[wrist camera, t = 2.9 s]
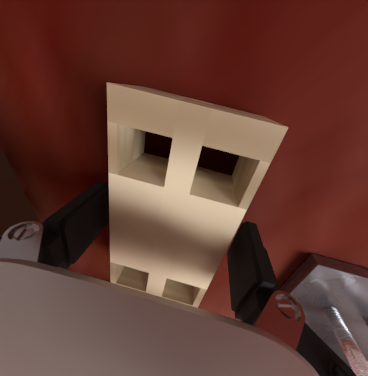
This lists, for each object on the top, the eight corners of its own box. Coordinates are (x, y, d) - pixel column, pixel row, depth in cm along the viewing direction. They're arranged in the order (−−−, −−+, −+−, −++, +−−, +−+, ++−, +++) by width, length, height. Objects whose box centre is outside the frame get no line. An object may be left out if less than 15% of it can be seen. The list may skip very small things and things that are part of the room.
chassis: (311, 253, 13) (369, 348, 8) (463, 294, 12) (622, 423, 7) (229, 344, 22) (232, 415, 17) (314, 370, 21) (343, 450, 16)
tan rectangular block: (142, 86, 9) (106, 82, 6) (263, 116, 9) (288, 127, 6) (130, 254, 16) (110, 291, 13) (197, 273, 16) (193, 315, 13)
